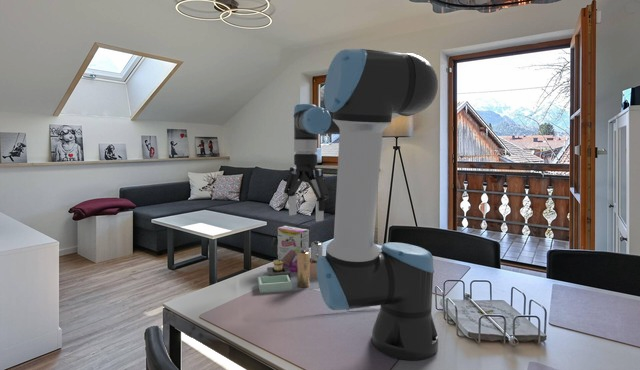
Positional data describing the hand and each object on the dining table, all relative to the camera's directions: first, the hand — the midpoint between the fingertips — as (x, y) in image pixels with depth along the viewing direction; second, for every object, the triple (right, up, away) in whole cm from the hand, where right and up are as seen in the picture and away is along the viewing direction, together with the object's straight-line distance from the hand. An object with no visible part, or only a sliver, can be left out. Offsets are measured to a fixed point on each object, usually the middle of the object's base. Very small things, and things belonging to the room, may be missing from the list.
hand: (305, 217), depth 123 cm
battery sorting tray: (-4, -22, +1) cm, 22 cm away
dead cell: (+4, -20, +7) cm, 22 cm away
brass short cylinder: (-9, -19, +3) cm, 21 cm away
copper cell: (-1, -22, -3) cm, 22 cm away
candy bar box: (-5, -21, +13) cm, 25 cm away
